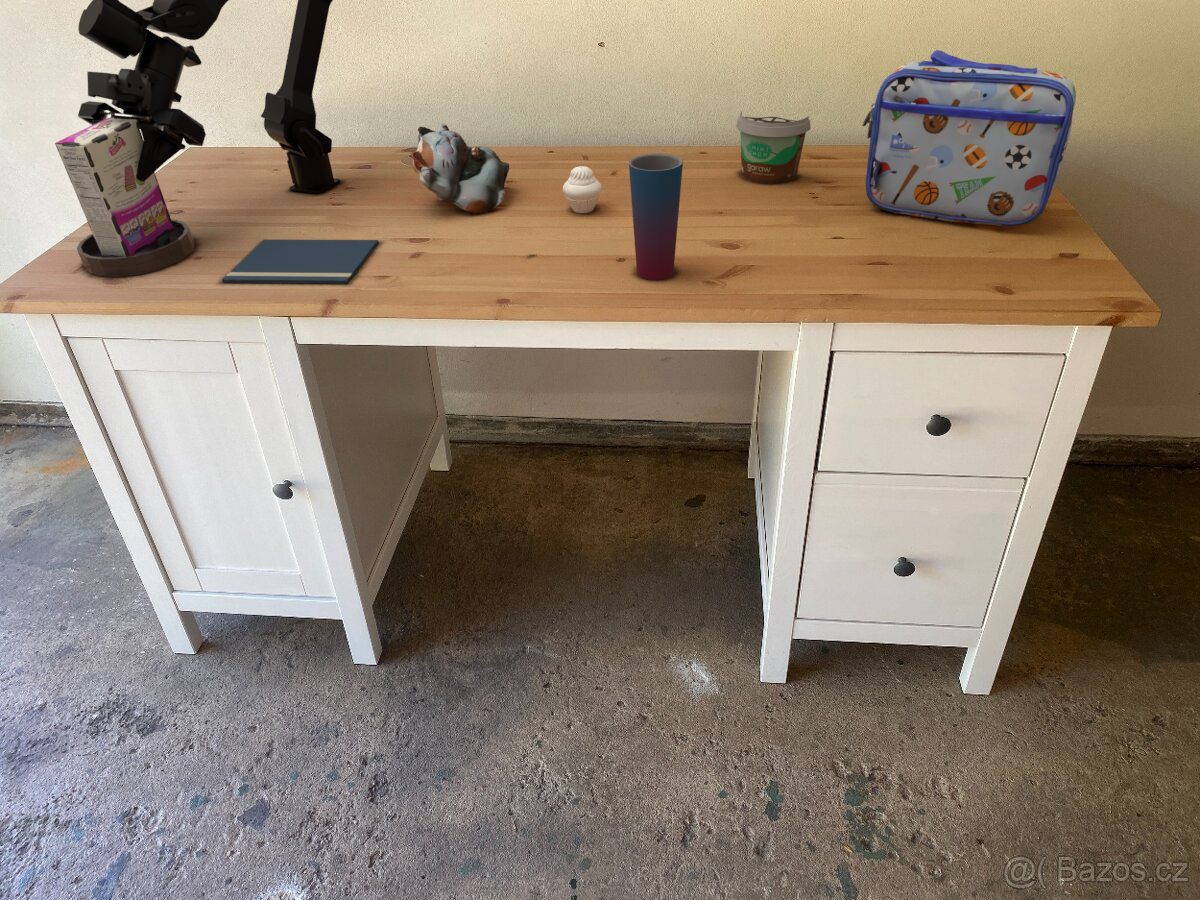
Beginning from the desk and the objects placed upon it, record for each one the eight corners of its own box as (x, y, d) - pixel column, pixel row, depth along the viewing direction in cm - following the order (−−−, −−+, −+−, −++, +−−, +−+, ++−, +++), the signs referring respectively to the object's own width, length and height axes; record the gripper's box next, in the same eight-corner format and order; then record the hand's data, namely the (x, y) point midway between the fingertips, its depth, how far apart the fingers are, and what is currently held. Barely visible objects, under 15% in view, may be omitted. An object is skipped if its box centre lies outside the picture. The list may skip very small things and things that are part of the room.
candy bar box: (146, 225, 128) (107, 116, 118) (175, 228, 128) (139, 118, 118) (98, 256, 120) (52, 141, 110) (128, 259, 119) (85, 143, 109)
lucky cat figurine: (498, 217, 131) (445, 145, 122) (440, 239, 137) (385, 172, 128) (520, 160, 140) (472, 89, 131) (464, 183, 146) (414, 116, 137)
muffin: (572, 201, 136) (569, 158, 132) (607, 204, 134) (606, 161, 130) (558, 215, 131) (555, 170, 127) (594, 218, 130) (592, 173, 126)
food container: (725, 182, 141) (728, 120, 135) (734, 170, 145) (738, 110, 139) (798, 189, 137) (804, 126, 131) (805, 176, 141) (812, 115, 135)
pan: (216, 241, 128) (210, 223, 126) (141, 282, 117) (133, 264, 115) (140, 230, 133) (133, 213, 131) (61, 270, 121) (52, 252, 120)
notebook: (378, 242, 125) (377, 239, 125) (347, 283, 114) (346, 280, 114) (264, 242, 127) (263, 239, 127) (222, 282, 116) (221, 279, 116)
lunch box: (845, 211, 128) (867, 57, 115) (862, 189, 135) (885, 42, 122) (1039, 239, 117) (1088, 72, 104) (1046, 214, 124) (1093, 55, 111)
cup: (627, 263, 116) (625, 154, 107) (675, 260, 116) (678, 151, 107) (633, 284, 111) (631, 172, 102) (684, 281, 111) (687, 168, 102)
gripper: (60, 41, 117) (27, 145, 115) (159, 46, 111) (126, 156, 109) (126, 86, 127) (97, 182, 126) (221, 93, 121) (191, 194, 120)
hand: (125, 178), depth 120 cm, fingers closed on candy bar box, 5 cm apart
